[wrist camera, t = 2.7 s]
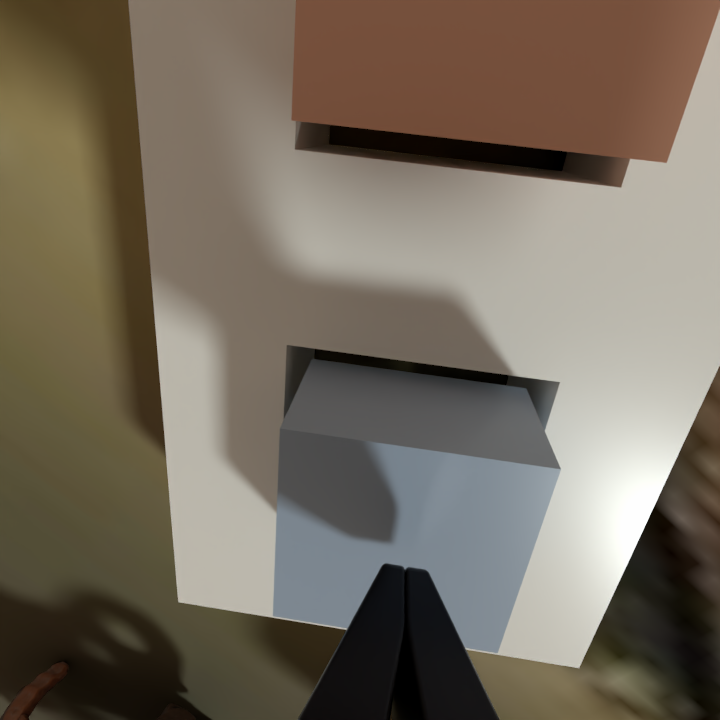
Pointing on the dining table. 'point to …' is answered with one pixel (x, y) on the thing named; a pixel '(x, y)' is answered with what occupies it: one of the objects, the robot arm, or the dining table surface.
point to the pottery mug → (29, 696)
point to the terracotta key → (505, 70)
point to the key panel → (412, 302)
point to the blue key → (408, 493)
